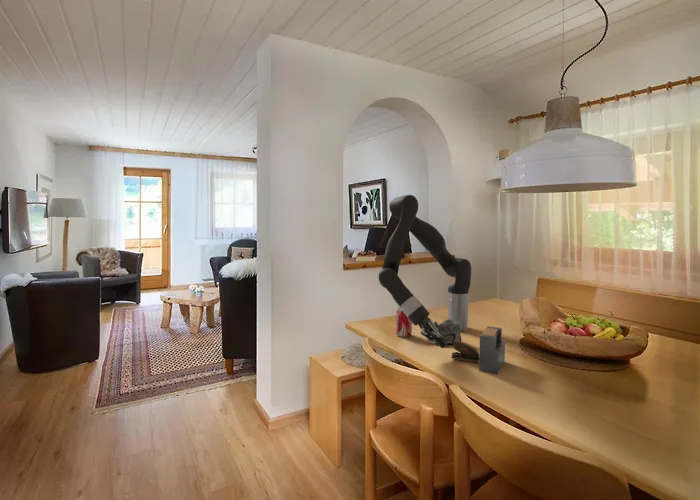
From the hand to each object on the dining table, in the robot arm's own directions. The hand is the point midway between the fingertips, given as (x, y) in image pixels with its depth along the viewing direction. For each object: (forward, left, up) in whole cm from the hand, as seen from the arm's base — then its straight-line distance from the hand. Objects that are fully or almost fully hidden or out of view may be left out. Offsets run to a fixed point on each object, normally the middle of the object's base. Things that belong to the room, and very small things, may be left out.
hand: (444, 346), depth 147 cm
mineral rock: (-18, -5, -5) cm, 19 cm away
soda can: (-18, -24, -4) cm, 30 cm away
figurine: (-1, +5, -4) cm, 7 cm away
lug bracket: (0, +16, -4) cm, 17 cm away
